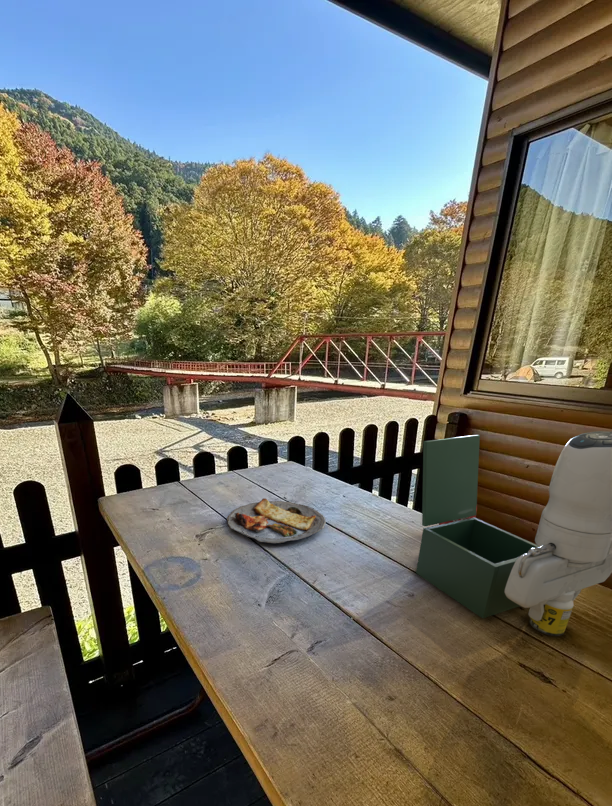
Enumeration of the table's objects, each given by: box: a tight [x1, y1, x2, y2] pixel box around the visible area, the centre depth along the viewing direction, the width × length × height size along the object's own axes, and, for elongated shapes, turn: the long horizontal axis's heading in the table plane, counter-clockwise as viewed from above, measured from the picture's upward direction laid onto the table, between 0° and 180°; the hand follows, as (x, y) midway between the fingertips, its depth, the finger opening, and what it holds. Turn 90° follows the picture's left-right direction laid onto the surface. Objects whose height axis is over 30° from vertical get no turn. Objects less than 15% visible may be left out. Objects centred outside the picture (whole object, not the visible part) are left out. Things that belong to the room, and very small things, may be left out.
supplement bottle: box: [529, 591, 575, 637], centre depth 67 cm, size 5×5×8 cm
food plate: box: [226, 498, 327, 544], centre depth 106 cm, size 25×23×4 cm
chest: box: [415, 517, 539, 619], centre depth 77 cm, size 16×14×11 cm
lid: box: [421, 434, 481, 527], centre depth 80 cm, size 16×14×1 cm
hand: (548, 613), depth 67 cm, fingers closed on supplement bottle, 5 cm apart
